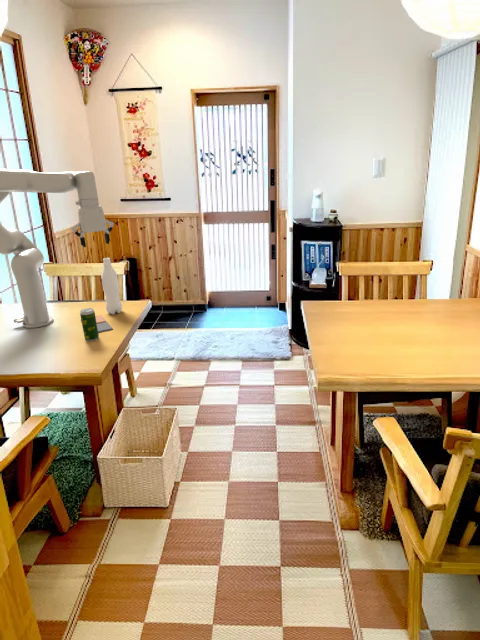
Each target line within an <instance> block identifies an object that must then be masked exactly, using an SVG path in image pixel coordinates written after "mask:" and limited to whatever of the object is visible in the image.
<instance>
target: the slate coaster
mask: <svg viewBox="0 0 480 640" xmlns="http://www.w3.org/2000/svg"><path fill="white" fill-rule="evenodd" d="M97 328H98V334H99V333H102V332H103V333H104V332H108V331H111V330H114V328H113V327H112V326H111V325H110V324H109V322H107V321H106V322H104V323H99V324H97Z"/></svg>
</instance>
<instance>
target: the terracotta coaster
mask: <svg viewBox="0 0 480 640" xmlns="http://www.w3.org/2000/svg"><path fill="white" fill-rule="evenodd" d="M95 317H96V323H97V324H100V323H105V322H107V320H106V319H105V318H104V316H103V315H102V314H100V315H95ZM80 322H81V323H82V321H81V320H80Z"/></svg>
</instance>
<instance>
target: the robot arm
mask: <svg viewBox="0 0 480 640" xmlns="http://www.w3.org/2000/svg"><path fill="white" fill-rule="evenodd" d="M73 191H77V197H78V199H77V201H75V205H76V206H79V207H78V222H77V223H76V224H74V225H73V226H71V227H70V228H71V230H72V232H73V233H74V234H75V235H76V236H77V237H79V241H80V242H79V243H80V245H81V246H82V248H86V247H87V244H86V239H85V237H84V236H85V234H86V233H96V232H102V231H103V233H104V241H105V244H107V245H109V244H110V242H111V237H110V234H111V232H112V230H113V227H114V224H115V223H114V222H113V221H110V220H108V219H106V217H105V213H104V210H103V207H102V205H100V201H99V195H98V190H97V184H96V177H95V174H94V172H93V171H91V170H83V171H62V172H61V171H60V172H38V171H34V170H31V169H8V168H0V204H1V203H2V202H3V201H4V200H5V199H6V198H7V197H8V196H9V195H10V194H11V193H34V194H35V193H43V194H44V193H47V194H48V193H49V194H64V193H68V192H73ZM107 224H108V225H109V226H107ZM107 227H108V228H107ZM78 228H79V230H80V232H78V230H77V229H78ZM0 254H1V255H4V256H5V255H6V256H7V255H11V254H13V255H14V256H13V257H12V259H11V261H10V268H11V271H12V273H13V275H14V278H15V281H16V285H17V290H18V293H19V298H20V302H21V306H22V310H23V314H22V315H21V316H20V317H14V318H13V319H12V320H13V323H17V324H21V323H22V327H23V328H26V329H34V328H40V327H45V326H47V325H50V324H52V323H53V322H54V317H53V316H50V315H49V311H48V305H47V301H46V296H45V292H44V286H43V282H42V279H41V275H40V273H39V271H38V269H40V268H42V266H43V264H44V261H45V257H44V254H43V252H42V251H41V250H40V249H39V248H38V247H37V246H36V245H35V244H34V243H33V242H32V241H31V240H30V239H29V238H28V237H27V236H26V235H25V234H24V233H23V232H22V231H20V230H18V229H16V228H10V227H9V228H5V227H4V226H3V225H2V223H0Z"/></svg>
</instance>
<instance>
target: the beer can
mask: <svg viewBox="0 0 480 640" xmlns="http://www.w3.org/2000/svg"><path fill="white" fill-rule="evenodd" d="M79 315H80V322H81V321H82V322H81V326H82V332H83V336H84V340H85V341H86V342H94V341H97V340H98V339H99V337H100V336H99V333H98V328H97V323H96V317H95V316H96V313H95V310H94V308H93V307H86V308H82V309H81V310H80V312H79Z"/></svg>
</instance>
